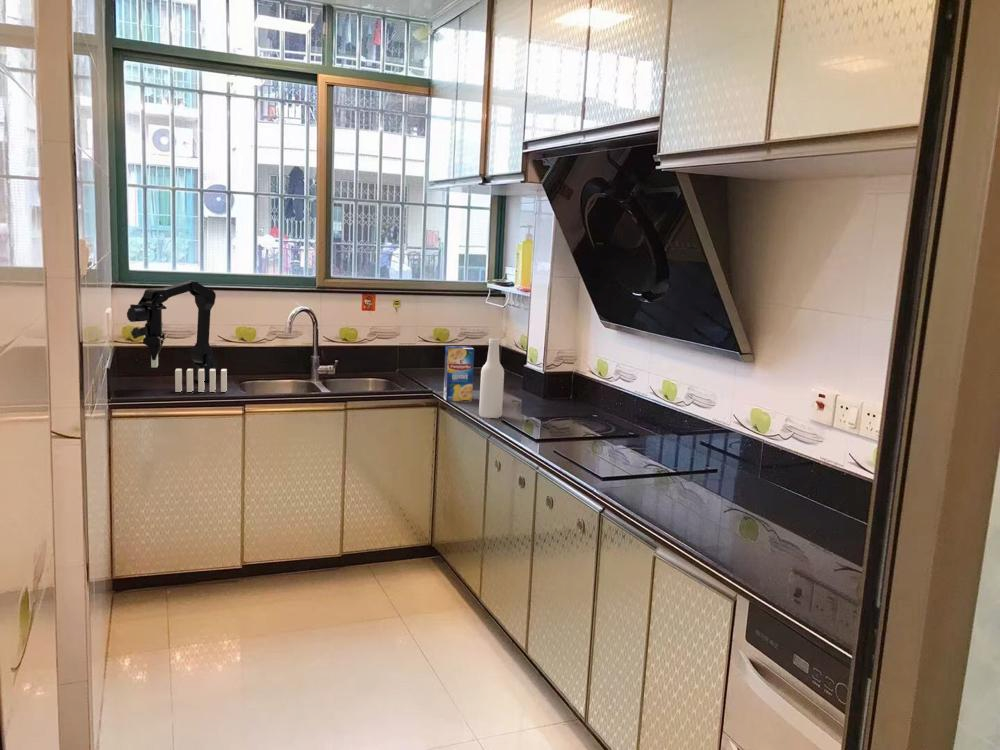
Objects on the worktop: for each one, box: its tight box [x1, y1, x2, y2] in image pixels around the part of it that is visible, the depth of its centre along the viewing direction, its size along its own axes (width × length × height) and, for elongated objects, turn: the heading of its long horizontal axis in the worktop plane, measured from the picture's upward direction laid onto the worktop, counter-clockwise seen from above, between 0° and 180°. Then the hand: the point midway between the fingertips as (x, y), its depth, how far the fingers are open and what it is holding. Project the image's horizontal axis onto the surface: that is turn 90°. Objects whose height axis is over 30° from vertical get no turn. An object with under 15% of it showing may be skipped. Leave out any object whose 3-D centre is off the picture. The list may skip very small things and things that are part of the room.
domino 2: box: [174, 368, 183, 393], centre depth 325 cm, size 2×5×9 cm, turn 16°
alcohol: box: [478, 337, 505, 419], centre depth 309 cm, size 9×9×30 cm
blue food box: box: [442, 345, 475, 402], centre depth 339 cm, size 7×11×22 cm, turn 104°
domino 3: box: [186, 368, 194, 393], centre depth 326 cm, size 2×5×9 cm, turn 16°
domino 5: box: [209, 368, 217, 393], centre depth 329 cm, size 2×5×9 cm, turn 16°
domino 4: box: [197, 369, 205, 393], centre depth 328 cm, size 2×5×9 cm, turn 16°
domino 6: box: [220, 368, 228, 393], centre depth 330 cm, size 2×5×9 cm, turn 16°
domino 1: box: [150, 354, 159, 368], centre depth 328 cm, size 2×5×9 cm, turn 16°
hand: (154, 359), depth 328 cm, fingers closed on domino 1, 5 cm apart
